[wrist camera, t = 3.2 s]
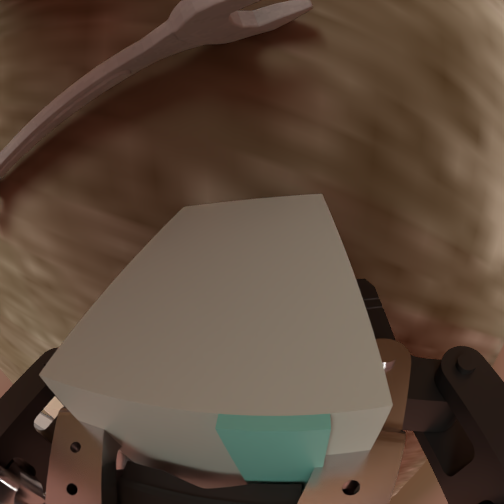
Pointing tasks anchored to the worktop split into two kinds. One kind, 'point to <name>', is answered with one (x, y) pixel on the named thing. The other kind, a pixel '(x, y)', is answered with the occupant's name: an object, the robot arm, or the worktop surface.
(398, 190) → the worktop surface
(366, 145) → the worktop surface
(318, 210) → the block
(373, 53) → the worktop surface
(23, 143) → the combination wrench
